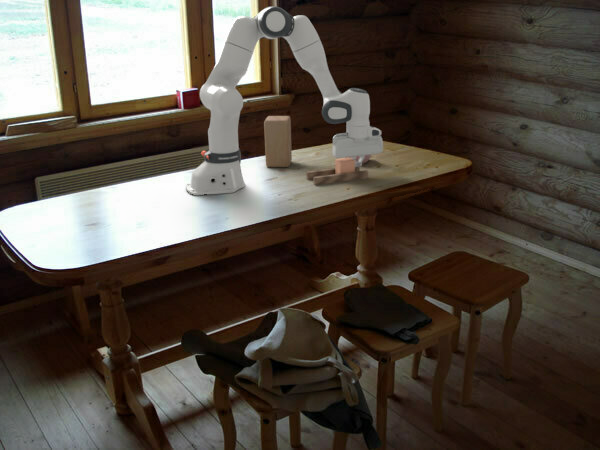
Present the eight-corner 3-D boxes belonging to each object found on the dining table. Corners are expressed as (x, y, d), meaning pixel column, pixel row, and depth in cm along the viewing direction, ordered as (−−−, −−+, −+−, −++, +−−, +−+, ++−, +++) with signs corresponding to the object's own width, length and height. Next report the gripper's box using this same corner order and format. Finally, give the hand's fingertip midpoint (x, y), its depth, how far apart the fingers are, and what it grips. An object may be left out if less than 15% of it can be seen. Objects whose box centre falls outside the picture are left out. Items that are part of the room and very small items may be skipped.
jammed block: (340, 180, 248) (340, 162, 246) (335, 176, 253) (335, 159, 250) (354, 178, 250) (354, 160, 248) (349, 174, 255) (349, 157, 252)
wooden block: (292, 161, 279) (290, 115, 272) (289, 168, 270) (288, 120, 263) (269, 161, 280) (267, 115, 273) (265, 167, 271) (263, 120, 264)
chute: (314, 188, 243) (314, 178, 242) (306, 181, 251) (306, 171, 250) (367, 181, 250) (367, 171, 249) (357, 174, 258) (358, 165, 257)
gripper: (336, 135, 241) (336, 171, 246) (385, 130, 247) (384, 165, 252) (329, 132, 246) (329, 167, 251) (377, 127, 253) (377, 161, 258)
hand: (357, 166), depth 252 cm, fingers closed
